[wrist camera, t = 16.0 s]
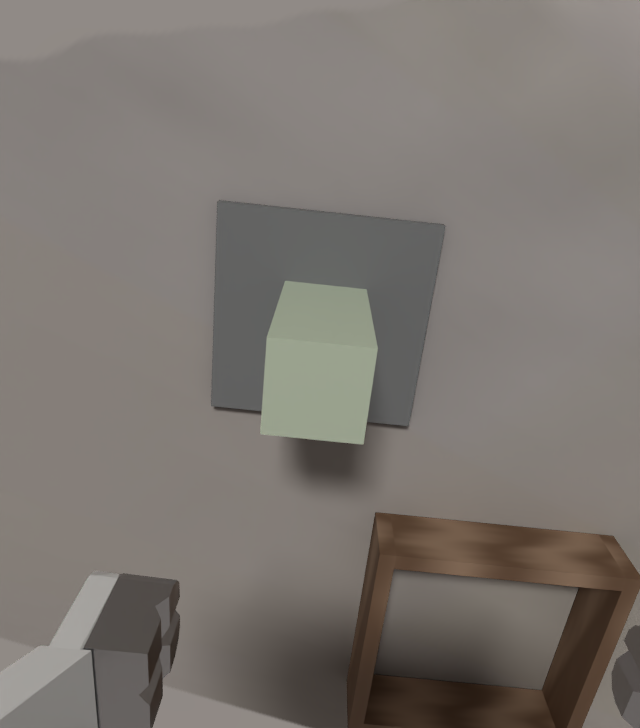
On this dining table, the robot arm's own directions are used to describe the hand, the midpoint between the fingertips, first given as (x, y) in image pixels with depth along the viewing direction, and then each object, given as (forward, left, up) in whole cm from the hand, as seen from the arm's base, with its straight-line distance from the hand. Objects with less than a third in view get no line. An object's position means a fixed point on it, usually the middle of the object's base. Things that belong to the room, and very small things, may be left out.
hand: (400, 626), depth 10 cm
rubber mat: (+2, +2, -23) cm, 23 cm away
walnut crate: (-11, +23, -23) cm, 35 cm away
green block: (+2, +2, -23) cm, 23 cm away
